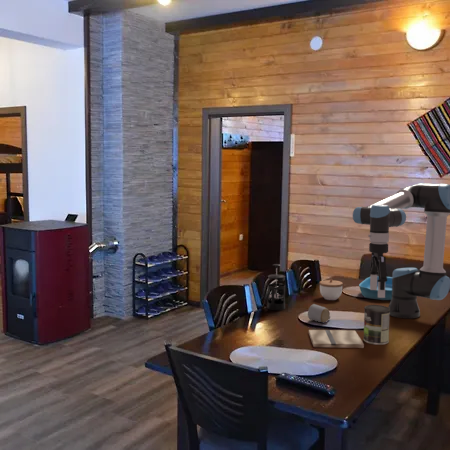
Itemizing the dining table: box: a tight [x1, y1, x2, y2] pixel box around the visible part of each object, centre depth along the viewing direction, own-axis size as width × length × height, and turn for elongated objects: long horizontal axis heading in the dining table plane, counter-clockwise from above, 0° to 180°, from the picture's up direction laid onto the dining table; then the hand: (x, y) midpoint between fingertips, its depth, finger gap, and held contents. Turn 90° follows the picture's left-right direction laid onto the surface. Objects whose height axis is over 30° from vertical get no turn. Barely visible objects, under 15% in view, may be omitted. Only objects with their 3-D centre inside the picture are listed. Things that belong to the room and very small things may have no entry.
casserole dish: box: [358, 275, 392, 301], centre depth 300 cm, size 37×22×7 cm, turn 152°
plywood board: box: [308, 329, 365, 349], centre depth 219 cm, size 20×18×2 cm
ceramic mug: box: [307, 303, 331, 323], centre depth 247 cm, size 11×8×8 cm
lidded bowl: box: [319, 278, 343, 301], centre depth 290 cm, size 13×13×11 cm
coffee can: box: [362, 304, 390, 346], centre depth 218 cm, size 10×10×14 cm
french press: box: [266, 263, 286, 311], centre depth 270 cm, size 12×9×23 cm
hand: (377, 293), depth 216 cm, fingers open, 13 cm apart
